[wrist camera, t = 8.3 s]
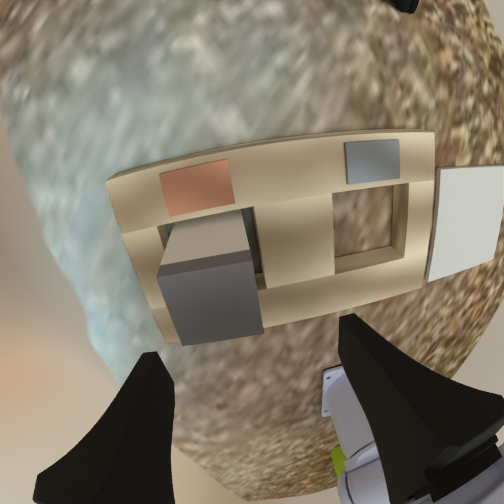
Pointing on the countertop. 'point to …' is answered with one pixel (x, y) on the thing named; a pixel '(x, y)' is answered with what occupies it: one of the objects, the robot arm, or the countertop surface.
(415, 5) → the electric trimmer
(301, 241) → the socket plate
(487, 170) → the mat
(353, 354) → the robot arm
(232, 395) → the countertop surface
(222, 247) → the peg
